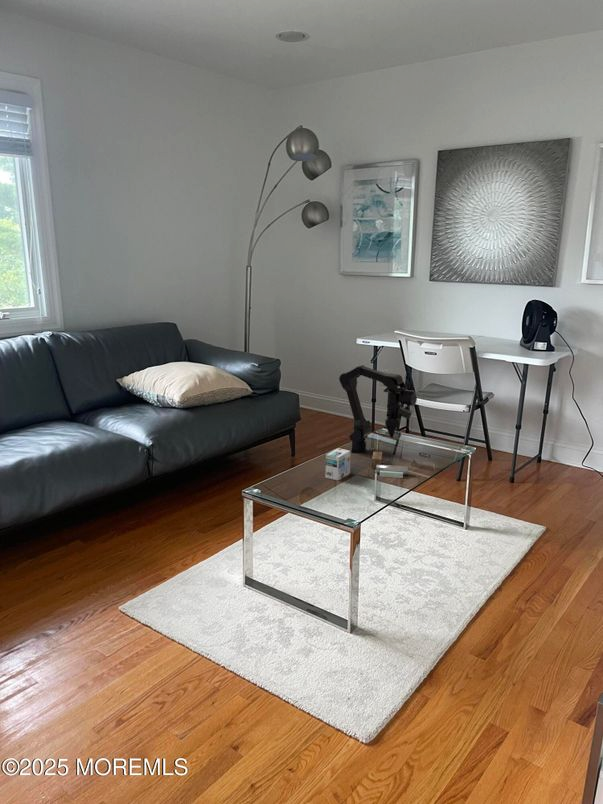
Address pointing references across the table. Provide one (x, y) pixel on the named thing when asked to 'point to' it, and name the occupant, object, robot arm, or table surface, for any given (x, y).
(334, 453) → the light bulb box
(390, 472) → the cradle
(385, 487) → the table surface
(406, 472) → the axle
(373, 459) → the bearing block
